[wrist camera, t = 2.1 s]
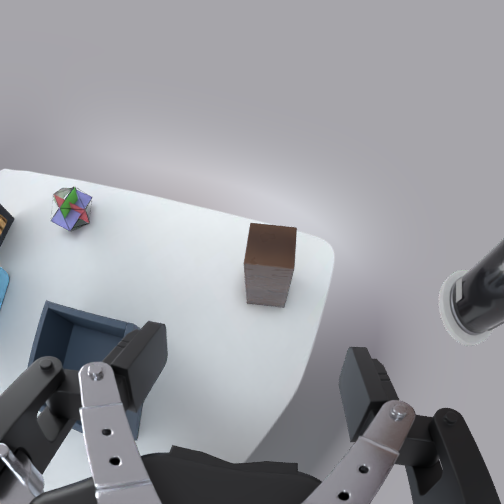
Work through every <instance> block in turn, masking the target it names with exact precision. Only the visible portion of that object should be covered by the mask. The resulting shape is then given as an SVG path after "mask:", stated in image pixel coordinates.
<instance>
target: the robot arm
mask: <svg viewBox="0 0 504 504" xmlns="http://www.w3.org/2000/svg"><path fill="white" fill-rule="evenodd" d="M450 308H451V312H452V315H453V317H454V320H455V321H456V323H457V325H458V326H459V327H460V328H461V329H462V330H463V331H464V332H466V333H467V334H470V335H480V334H482V333H484V332H485V331H490V330H492V329H494V328H496V327H498V326H500V325H502V324H503V323H504V238H503V239H502V240H501V241H500V242H499V243H498V244H497V245H496V246H495V247H494V248H493V249H492V250H491V251H490V252H489V253H488V254H487V255H486V256H485V257H484V258H483V259H482V260H480V261H479V262H478V263H477V264H476V265H475V266H474V267H473V268H472V269H470V270H469V271H468V272H467V273H466V274H465V275H463V276H462V277H460V278H459V279H458V280H457V281H455V283H454V284H453V286H452V288H451V291H450ZM167 355H168V352H167V336H166V326H165V324H162V323H157V322H152V321H148V322H147V323H146V324H145V325H144V326H143V327H142V328H141V329H140V330H138V329H136V330H134V331H132V332H130V333H128V334H126V336H125V337H124V338H123V339H122V341H120V342H119V343H118V344H117V346H115V347H114V349H113V350H112V351H111V352H110V353H109V354H108V355H107V356H106V357H105V358H104V360H103V361H102V362H91V363H88V364H85V365H84V366H83V367H81V369H80V370H79V371H78V370H69V369H63V366H62V363H61V361H60V360H59V359H58V358H56V357H53V356H45V357H41V358H39V359H37V360H36V361H35V362H33V363H32V364H31V365H30V366H29V367H28V368H27V369H26V370H25V371H24V372H23V373H22V374H21V375H20V376H19V377H18V378H17V379H16V380H15V381H14V382H13V383H12V384H11V385H10V386H9V387H8V388H7V389H6V390H5V391H4V392H3V393H2V394H1V395H0V504H370V503H371V501H372V500H373V498H374V497H375V495H376V494H377V492H378V491H379V489H380V487H381V486H382V484H383V482H384V481H385V479H386V477H387V476H388V474H389V472H390V471H391V469H392V467H393V465H394V464H399V465H405V468H406V472H407V476H408V481H409V485H410V489H411V495H412V500H413V504H501V502H500V500H499V497H498V494H497V492H496V489H495V486H494V484H493V481H492V479H491V476H490V474H489V471H488V469H487V467H486V465H485V462H484V460H483V458H482V456H481V453H480V451H479V449H478V447H477V445H476V442H475V440H474V438H473V436H472V434H471V432H470V430H469V428H468V426H467V424H466V422H465V420H464V418H463V417H462V415H461V414H460V413H459V412H457V411H456V410H454V409H450V408H442V409H439V410H438V411H437V412H436V413H435V415H434V416H433V417H427V416H420V415H416V414H415V411H414V409H413V408H412V407H411V406H410V405H409V404H407V403H405V402H403V401H399V398H398V397H397V394H396V392H395V389H394V387H393V385H392V383H391V381H390V378H389V376H388V375H387V372H386V370H385V368H384V366H383V365H382V364H381V363H380V362H379V361H378V360H377V359H371V356H370V354H369V352H368V350H367V348H365V347H350V348H349V349H348V351H347V354H346V357H345V361H344V364H343V367H342V371H341V374H340V378H339V389H340V394H341V398H342V403H343V407H344V412H345V417H346V422H347V427H348V431H349V436H350V442H355V443H354V444H353V446H352V447H351V448H350V449H349V451H348V452H347V453H346V455H345V456H344V457H343V458H342V459H341V461H340V462H339V463H338V465H337V466H336V467H335V468H334V469H333V470H332V472H331V473H330V474H329V475H328V476H327V477H326V478H325V479H324V481H323V482H322V481H320V480H318V479H317V478H315V477H313V476H310V475H308V474H305V473H302V472H298V464H297V463H283V462H269V461H264V462H253V463H238V464H233V463H229V462H226V461H224V460H221V459H218V458H216V457H213V456H211V455H208V454H206V453H203V452H200V451H195V450H191V449H186V448H182V447H178V446H174V445H172V447H171V449H170V452H169V453H152V454H147V455H143V456H140V454H139V451H138V448H137V446H136V443H135V440H134V438H133V435H132V432H131V429H130V426H129V423H128V420H127V417H126V414H125V413H126V411H127V410H129V411H132V412H135V413H137V412H138V410H139V408H140V407H141V405H142V403H143V402H144V400H145V398H146V396H147V395H148V393H149V391H150V390H151V388H152V386H153V385H154V383H155V381H156V380H157V378H158V376H159V375H160V373H161V371H162V370H163V368H164V366H165V364H166V361H167ZM45 402H46V404H47V406H46V407H45V409H44V410H43V411H42V412H41V414H40V415H39V416H38V417H37V413H38V411H39V410H40V408H41V407H42V406H43V405H44V403H45ZM77 420H81V423H82V429H83V435H84V441H85V446H86V451H87V456H88V460H89V465H90V469H91V473H92V477H89V478H87V479H84V480H81V481H79V482H76V483H73V484H70V485H67V486H64V487H61V488H58V489H54V490H51V491H48V492H45V493H44V491H43V488H44V479H43V476H42V474H43V473H44V471H45V469H46V468H47V466H48V464H49V463H50V461H51V460H52V458H53V456H54V455H55V453H56V452H57V450H58V449H59V447H60V445H61V444H62V442H63V441H64V439H65V438H66V436H67V435H68V433H69V432H70V430H71V429H72V427H73V426H74V424H75V423H76V421H77ZM439 459H440V461H439ZM440 462H441V464H440ZM441 465H442V467H441ZM442 468H443V470H442Z"/></svg>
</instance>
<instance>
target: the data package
mask: <svg viewBox="0 0 504 504" xmlns="http://www.w3.org/2000/svg"><path fill="white" fill-rule="evenodd" d="M8 283H9V276H8V274H7V272H6V271H5V270H4V269H2V268H1V267H0V309H1V305H2V302H3V299H4V295H5V292H6V289H7V286H8Z"/></svg>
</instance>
